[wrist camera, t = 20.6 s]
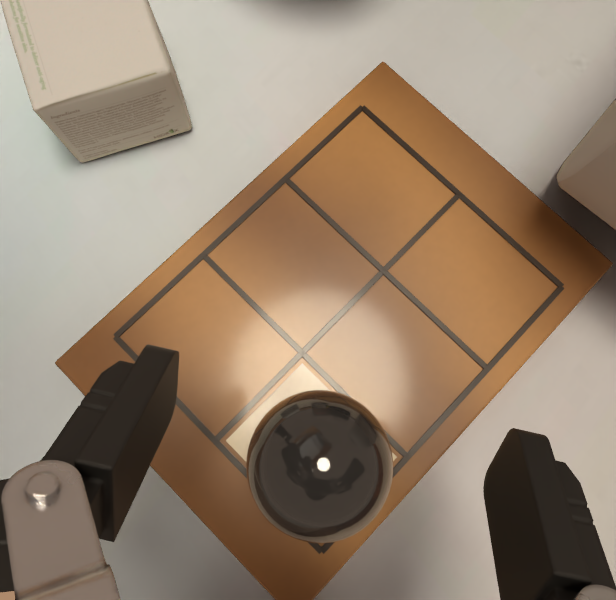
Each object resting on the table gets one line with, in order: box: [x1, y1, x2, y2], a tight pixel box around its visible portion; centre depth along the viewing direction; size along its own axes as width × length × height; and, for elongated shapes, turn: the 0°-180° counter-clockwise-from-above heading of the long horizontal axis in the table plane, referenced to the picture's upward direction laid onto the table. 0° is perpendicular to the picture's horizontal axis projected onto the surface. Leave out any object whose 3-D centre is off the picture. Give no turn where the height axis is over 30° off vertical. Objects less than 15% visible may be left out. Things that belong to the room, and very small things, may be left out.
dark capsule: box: [246, 390, 393, 543], centre depth 19 cm, size 4×4×8 cm
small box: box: [0, 0, 192, 162], centre depth 24 cm, size 6×6×5 cm
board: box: [55, 62, 613, 600], centre depth 24 cm, size 20×14×1 cm
